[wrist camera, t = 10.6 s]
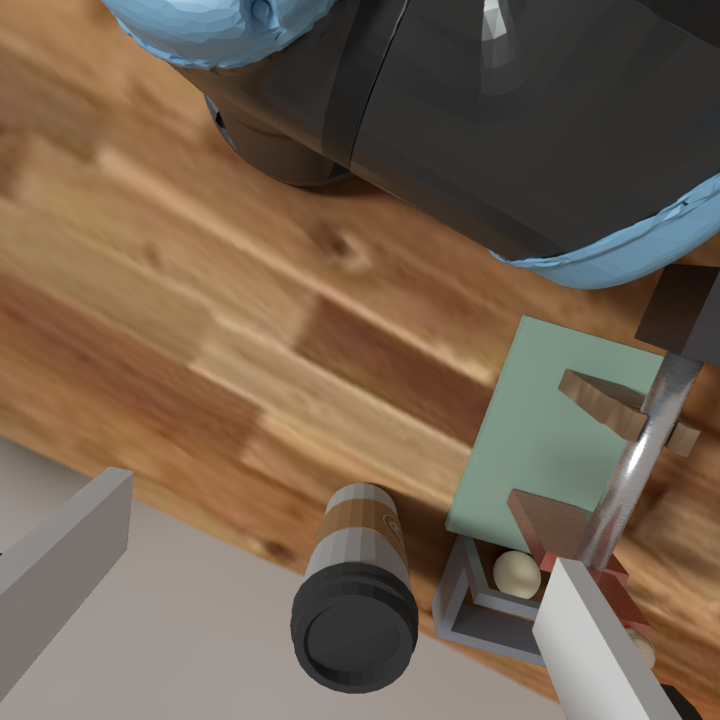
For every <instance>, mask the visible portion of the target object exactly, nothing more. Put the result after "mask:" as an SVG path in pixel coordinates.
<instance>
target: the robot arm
mask: <svg viewBox="0 0 720 720" xmlns="http://www.w3.org/2000/svg"><path fill="white" fill-rule="evenodd" d="M101 1H102V2H103V3H104V4H105V6H106V7H107V8H108V9H109V10H110V11H111V13H112V14H113V15H114V16H115V17H116V18H117V20H118V22H119V24H120V26H121V28H122V29H123V30H124V31H125V33H126V34H127V35H129V36H131V37H133V38H134V40H135V41H136V43H137V44H138V45H139V46H140V47H142V48H143V49H144V50H146V51H147V52H149V53H150V54H152V55H154V56H155V57H157V58H159V59H161V60H164V61H166V62H167V63H168V64H169V65H171V66H172V67H173V68H174V69H175V70H177V71H178V72H179V73H180V74H181V75H182V76H184V77H185V78H186V79H187V80H188V81H190V82H191V83H192V84H193V85H194V86H195V87H197V88H198V89H199V90H200V91H201V92H203V93H204V97H205V100H206V103H207V106H208V109H209V111H210V114H211V116H212V118H213V120H214V122H215V124H216V126H217V128H218V129H219V131H220V132H221V134H222V135H223V137H224V138H225V140H226V141H227V142H228V144H229V145H230V146H231V147H232V149H233V150H234V151H235V152H236V153H237V154H238V155H239V156H240V157H241V158H242V159H244V160H245V161H246V162H247V163H249V164H250V165H251V166H253V167H254V168H256V169H257V170H259V171H260V172H262V173H264V174H265V175H267V176H269V177H271V178H273V179H275V180H278V181H280V182H283V183H286V184H290V185H293V186H299V187H311V188H316V187H327V186H332V185H337V184H340V183H343V182H346V181H348V180H351V179H353V178H355V177H357V176H359V177H360V178H362V179H364V180H366V181H368V182H369V183H371V184H373V185H375V186H376V187H378V188H380V189H382V190H384V191H385V192H387V193H389V194H391V195H393V196H394V197H396V198H398V199H400V200H401V201H403V202H405V203H407V204H409V205H410V206H412V207H414V208H416V209H418V210H419V211H421V212H423V213H425V214H427V215H428V216H430V217H432V218H434V219H435V220H437V221H439V222H441V223H443V224H444V225H446V226H448V227H450V228H452V229H453V230H455V231H457V232H459V233H460V234H462V235H464V236H466V237H468V238H469V239H471V240H473V241H475V242H477V243H478V244H480V245H482V246H484V247H485V248H487V249H488V251H489V252H490V253H491V254H492V255H493V256H494V257H495V258H497V259H498V260H500V261H501V262H503V263H505V264H506V263H509V264H511V265H513V266H515V267H522V268H526V269H528V270H530V271H532V272H534V273H536V274H538V275H540V276H542V277H544V278H546V279H548V280H550V281H552V282H554V283H556V284H558V285H561V286H566V287H570V288H576V289H587V290H590V289H601V288H608V287H612V286H617V285H621V284H624V283H628V282H630V281H633V280H636V279H639V278H641V277H644V276H646V275H648V274H650V273H653V272H655V271H657V270H659V269H661V268H663V267H665V266H667V265H669V264H670V263H672V262H674V261H676V260H677V259H679V258H681V257H683V256H684V255H686V254H688V253H689V252H691V251H692V250H694V249H695V248H697V247H698V246H700V245H701V244H703V243H704V242H706V241H707V240H708V239H710V238H711V237H712V236H714V235H715V234H716V233H718V232H719V231H720V0H101ZM133 478H134V471H130V470H125V469H120V468H115V467H110V466H109V467H108V468H107V469H105V470H104V471H103V472H102V473H101V474H99V475H98V476H97V477H96V478H94V479H93V480H92V481H91V482H90V483H88V484H87V485H86V486H85V487H84V488H82V489H81V490H80V491H79V492H77V493H76V494H75V495H74V496H73V497H72V498H70V499H69V500H68V501H67V502H65V503H64V504H63V505H62V506H60V507H59V508H58V509H57V510H56V511H54V512H53V513H52V514H51V515H50V516H48V517H47V518H46V519H45V520H43V521H42V522H41V523H40V524H39V525H37V526H36V527H35V528H34V529H33V530H31V531H30V532H29V533H28V534H27V535H25V536H24V537H23V538H22V539H20V540H19V541H18V542H17V543H15V544H14V545H13V546H12V547H11V548H10V549H8V550H7V551H6V552H5V553H3V554H2V553H0V702H1V701H2V700H3V698H4V697H5V696H6V695H7V694H8V692H9V691H10V690H11V688H13V686H14V685H15V684H16V683H17V682H18V680H19V679H20V678H21V677H22V675H23V674H24V673H25V672H26V670H27V669H28V668H29V667H30V666H31V665H32V663H33V662H34V661H35V660H36V659H37V657H38V656H39V655H40V654H41V653H42V651H43V650H44V649H45V648H46V646H47V645H48V644H49V643H50V642H51V640H52V639H53V638H54V637H55V636H56V634H57V633H58V632H59V631H60V630H61V628H62V627H63V626H64V625H65V624H66V622H67V621H68V620H69V619H70V617H71V616H72V615H73V614H74V613H75V611H76V610H77V609H78V608H79V606H80V605H81V604H82V603H83V602H84V601H85V599H86V598H87V597H88V596H89V594H90V593H91V592H92V591H93V590H94V588H95V587H96V586H97V585H98V583H99V582H100V581H101V580H102V579H103V578H104V576H105V575H106V574H107V573H108V572H109V570H110V569H111V568H112V567H113V565H114V564H115V563H116V562H117V561H118V559H119V558H120V557H121V555H123V553H124V552H125V551H126V549H127V542H128V532H129V521H130V509H131V499H132V488H133ZM532 632H533V635H534V637H535V640H536V642H537V645H538V647H539V650H540V652H541V655H542V658H543V660H544V663H545V665H546V668H547V670H548V673H549V675H550V678H551V680H552V683H553V686H554V688H555V691H556V693H557V696H558V698H559V701H560V703H561V706H562V708H563V711H564V713H565V716H566V719H567V720H703V719H702V718H701V716H700V715H699V713H698V712H697V710H696V709H695V707H694V706H693V705H692V704H691V703H690V702H689V701H688V700H686V699H685V698H684V697H683V696H682V695H681V694H680V693H679V692H678V691H677V690H676V689H675V688H674V687H673V686H670V685H665V684H660V683H659V682H658V681H657V679H656V678H655V676H654V674H653V673H652V671H651V670H650V668H649V666H648V665H647V663H646V662H645V660H644V659H643V657H642V655H641V654H640V652H639V651H638V649H637V648H636V646H635V644H634V643H633V641H632V640H631V638H630V637H629V635H628V633H627V632H626V630H625V629H624V627H623V626H622V624H621V622H620V621H619V619H618V618H617V616H616V615H615V613H614V611H613V610H612V608H611V607H610V605H609V604H608V602H607V600H606V599H605V597H604V596H603V594H602V593H601V591H600V589H599V588H598V586H597V585H596V583H595V582H594V580H593V578H592V577H591V575H590V574H589V572H588V570H587V569H586V567H585V566H584V564H583V563H582V562H581V561H576V560H571V559H566V558H561V557H557V559H556V562H555V565H554V568H553V571H552V574H551V577H550V580H549V582H548V585H547V588H546V591H545V594H544V597H543V600H542V603H541V605H540V608H539V611H538V614H537V617H536V620H535V623H534V626H533V629H532Z"/></svg>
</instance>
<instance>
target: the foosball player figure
mask: <svg viewBox="0 0 720 720" xmlns="http://www.w3.org/2000/svg"><path fill="white" fill-rule="evenodd" d="M558 390H560V391H561V392H562V393H563V394H565V395H566V396H567V397H568V398H569V399H571V400H572V401H573V402H574V403H576V404H577V405H578V406H579V407H581V408H582V409H583V410H584V411H585V412H587V413H588V414H589V415H590V416H592V417H593V418H594V419H595V420H596V421H598V422H599V423H601V424H605V425H606V426H608V427H609V428H610V429H611V430H613V431H614V432H615V433H616V434H618V435H619V436H620V437H621V438H623V439H625V440H628V441H632V442H636V440H637V438H638V436H639V434H640V432H641V429H642V427H643V425H644V423H645V421H646V419H647V417H648V416H647V415H645V414H644V413H642V412H641V411H640V409H641V407H642V405H643V403H644V400H645V397H643V396H642V395H640V394H638V393H636V392H635V391H633V390H631V389H629V388H628V387H626V386H624V385H621V384H618V383H614V382H611V381H607V380H604V379H600V378H597V377H594V376H590V375H587V374H583V373H580V372H577V371H573V370H570V369H565V372H564V374H563V376H562V379H561V381H560V384H559V386H558ZM700 432H701V431H699V430H697V429H695V428H694V427H692V426H690V425H689V424H687V423H685V422H684V421H682V419H681V418H680V417H678V418H677V420H676V422H675V425H674V427H673V429H672V431H671V433H670V435H669V437H668V439H667V441H666V443H665V445H664V446H665V447H666V448H667V449H669V450H670V451H672V452H673V453H674V454H677V455H680V456H684V457H687V458H688V456H689V454H690V452H691V450H692V448H693V446H694V444H695V442H696V440H697V438H698V436H699V434H700Z"/></svg>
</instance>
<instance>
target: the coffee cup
mask: <svg viewBox="0 0 720 720" xmlns="http://www.w3.org/2000/svg"><path fill="white" fill-rule="evenodd" d="M409 574H410V573H409V567H408V562H407V557H406V552H405V546H404V541H403V536H402V531H401V526H400V523H399V520H398V514H397V510H396V507H395V504H394V502H393V500H392V499H391V497H390V496H389V495H388V494H387V493H386V492H385V491H384V490H383V489H381V488H379V487H377V486H375V485H373V484H368V483H354V484H351V485H348V486H345V487H343V488H342V489H340V490H338V491H337V492H336V493H335V494H334V495H333V496H332V498H331V500H330V501H329V503H328V506H327V509H326V512H325V515H324V518H323V520H322V521H321V524H320V527H319V530H318V533H317V536H316V539H315V542H314V545H313V548H312V551H311V554H310V557H309V562H308V566H307V570H306V573H305V576H304V580H303V583H302V585H301V587H300V589H299V591H298V592H297V594H296V596H295V598H294V602H293V608H292V618H291V624H290V627H291V637H292V641H293V643H294V648H295V654H296V656H297V658H298V661H299V663H300V665H301V667H302V668H303V669H304V670H305V671H306V673H307V674H308V675H309V676H310V677H311V678H313V679H314V680H315V681H316V682H318V683H319V684H321V685H323V686H325V687H328V688H329V689H332V690H334V691H339V692H344V693H348V694H351V693H355V694H356V693H368V692H372V691H376V690H380V689H382V688H384V687H386V686H388V685H390V684H391V683H393V682H394V681H395V680H396V679H398V678H399V677H400V676H401V675H402V674H403V672H404V671H405V669H406V668H407V666H408V665H409V662H410V658H411V655H412V653H413V652H414V649H415V646H416V643H417V639H418V624H419V621H418V608H417V605H416V602H415V599H414V596H413V594H412V590H411V585H410V579H409Z"/></svg>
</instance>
